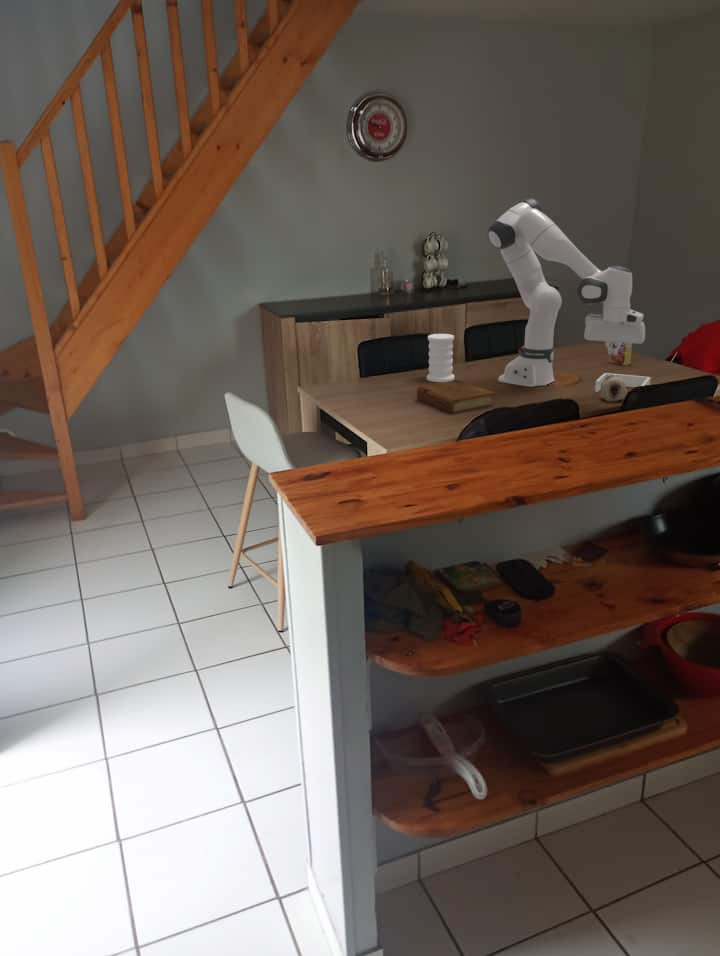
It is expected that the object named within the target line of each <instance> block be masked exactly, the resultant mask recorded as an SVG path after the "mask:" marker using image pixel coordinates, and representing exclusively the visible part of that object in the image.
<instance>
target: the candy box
mask: <svg viewBox="0 0 720 956" xmlns="http://www.w3.org/2000/svg"><path fill="white" fill-rule="evenodd" d="M617 346H618V345H616V342H611V344H610V347H611V349H616V347H617ZM632 349H633V343H622V344H621V346H620V347H619V349H618V351H617V355H612V354H609V363H613V364H617V365H620V364H621V366H623V365H625V366H629V365H628V364H630V365H631V361H632V360H631V359H632Z"/></svg>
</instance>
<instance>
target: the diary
mask: <svg viewBox="0 0 720 956" xmlns="http://www.w3.org/2000/svg"><path fill="white" fill-rule="evenodd" d="M494 394H495V392H494V391H492V390H491V391H490V390H488V389H486V388H482V387H479V386H477V385H473V384H471V383H468V382H464V381H462V380H458V379H454V380H452V381H447V382H435V383H430V384H426V385H420V386H418V387H417V388H416V399H417V401H420V402H422V403H424V404H426V405H430V406H432V407H433V408H434V407H435V408H437V409H439V410H442V411H444V412H447V413H449V414H452V415H455V414H460V413H465V412H469V411H474V410H479V409H484V408H488V407H489V408H490V407H493V406H494V404H493V403H492V396H494Z"/></svg>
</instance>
